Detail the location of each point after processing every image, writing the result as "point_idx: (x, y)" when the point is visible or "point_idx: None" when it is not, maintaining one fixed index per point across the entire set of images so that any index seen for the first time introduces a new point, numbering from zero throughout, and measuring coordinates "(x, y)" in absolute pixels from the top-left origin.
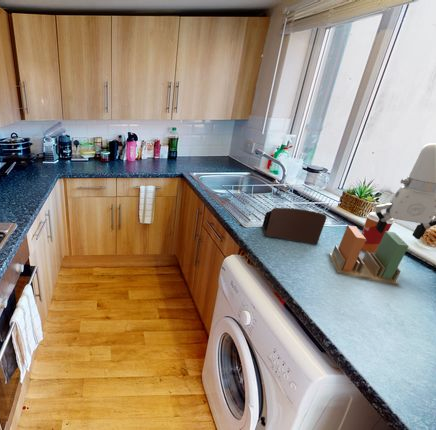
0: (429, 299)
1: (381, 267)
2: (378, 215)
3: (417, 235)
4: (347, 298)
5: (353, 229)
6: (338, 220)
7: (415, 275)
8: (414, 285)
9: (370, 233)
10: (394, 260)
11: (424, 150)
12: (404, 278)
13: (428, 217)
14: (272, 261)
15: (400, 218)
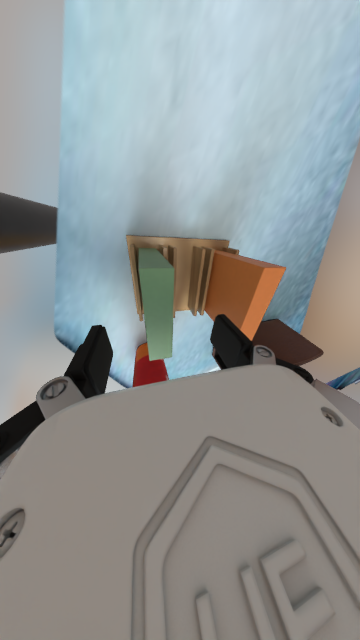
0: (63, 188)
1: (166, 256)
2: (296, 367)
3: (102, 338)
4: (262, 98)
5: (253, 324)
6: None
7: (84, 300)
8: (91, 254)
9: (161, 370)
10: (154, 255)
11: None
12: (106, 277)
13: (34, 508)
14: (315, 238)
15: (251, 373)
